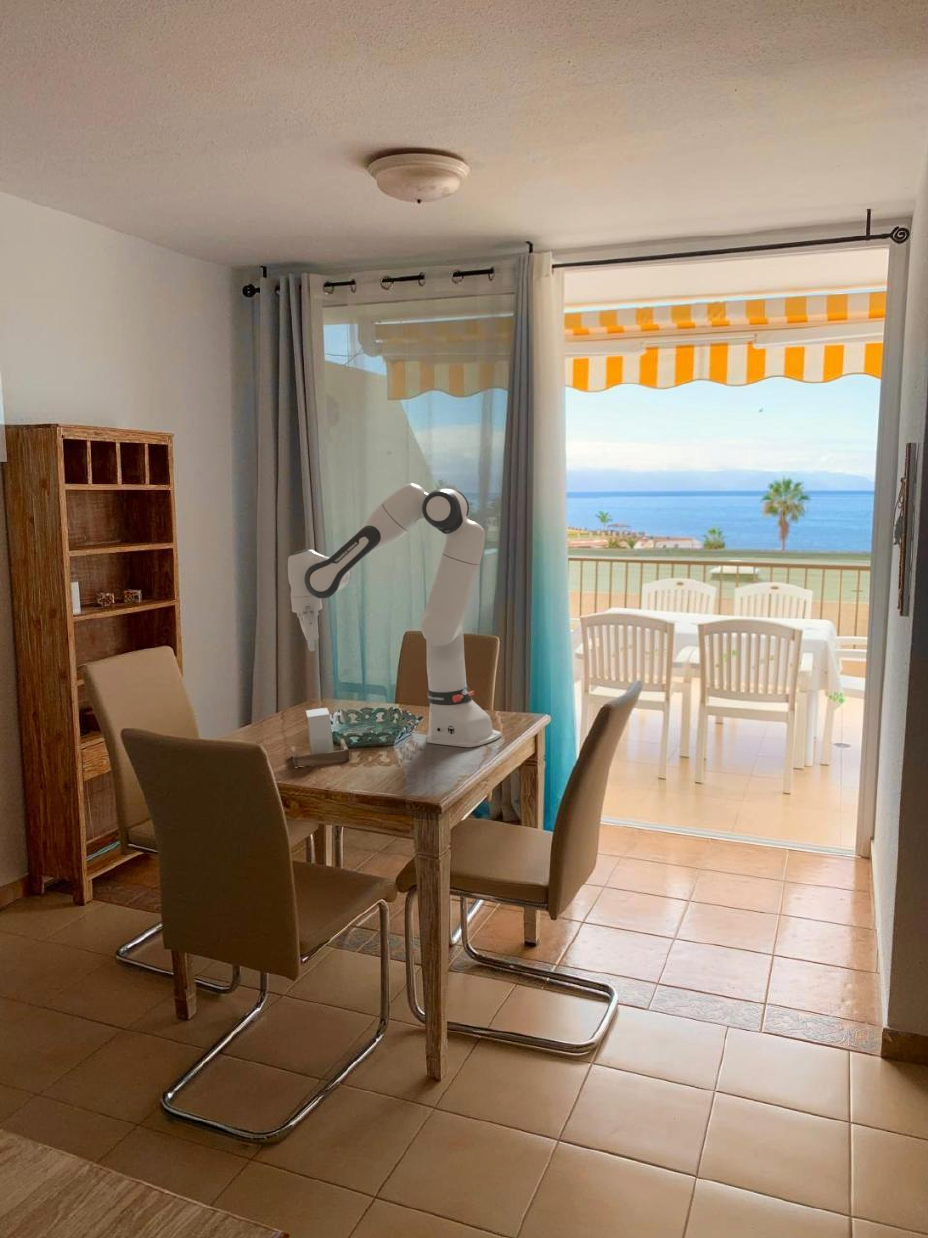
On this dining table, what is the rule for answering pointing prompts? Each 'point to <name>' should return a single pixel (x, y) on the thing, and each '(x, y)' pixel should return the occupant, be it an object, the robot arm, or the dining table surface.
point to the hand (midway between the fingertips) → (311, 650)
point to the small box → (319, 731)
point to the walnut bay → (321, 756)
